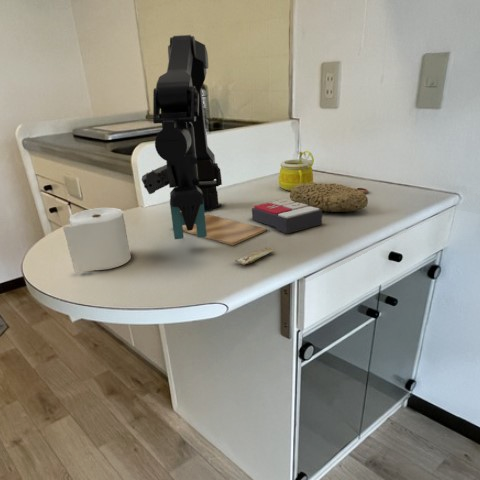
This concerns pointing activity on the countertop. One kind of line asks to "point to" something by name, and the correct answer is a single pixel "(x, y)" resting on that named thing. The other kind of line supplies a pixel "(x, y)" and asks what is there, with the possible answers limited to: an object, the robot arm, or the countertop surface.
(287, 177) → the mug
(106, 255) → the toilet tissue
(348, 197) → the sponge
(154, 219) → the countertop surface
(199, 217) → the letter H
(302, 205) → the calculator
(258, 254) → the snack bar
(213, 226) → the wooden board
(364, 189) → the key
